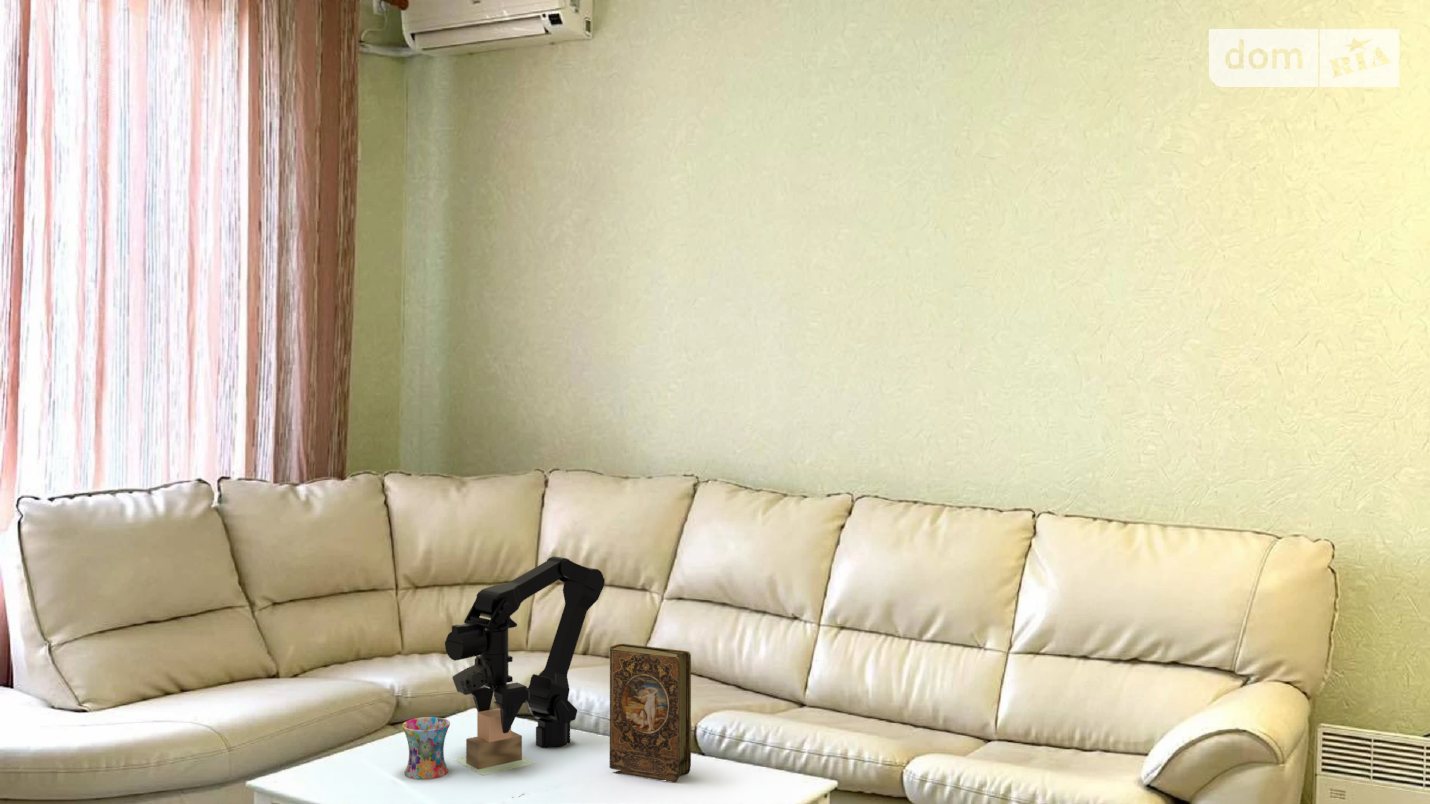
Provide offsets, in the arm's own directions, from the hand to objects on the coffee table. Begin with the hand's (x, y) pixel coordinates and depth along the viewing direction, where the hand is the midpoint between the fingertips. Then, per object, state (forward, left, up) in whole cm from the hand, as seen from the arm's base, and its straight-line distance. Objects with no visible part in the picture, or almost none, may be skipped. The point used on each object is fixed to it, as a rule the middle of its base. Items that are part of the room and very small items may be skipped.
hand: (494, 727), depth 268 cm
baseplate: (0, 0, -8) cm, 8 cm away
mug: (+13, -3, -8) cm, 15 cm away
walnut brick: (0, 0, -7) cm, 7 cm away
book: (-22, +23, -8) cm, 33 cm away
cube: (0, 0, -2) cm, 2 cm away
